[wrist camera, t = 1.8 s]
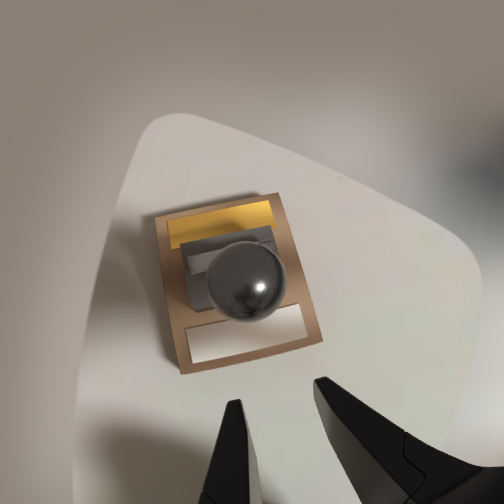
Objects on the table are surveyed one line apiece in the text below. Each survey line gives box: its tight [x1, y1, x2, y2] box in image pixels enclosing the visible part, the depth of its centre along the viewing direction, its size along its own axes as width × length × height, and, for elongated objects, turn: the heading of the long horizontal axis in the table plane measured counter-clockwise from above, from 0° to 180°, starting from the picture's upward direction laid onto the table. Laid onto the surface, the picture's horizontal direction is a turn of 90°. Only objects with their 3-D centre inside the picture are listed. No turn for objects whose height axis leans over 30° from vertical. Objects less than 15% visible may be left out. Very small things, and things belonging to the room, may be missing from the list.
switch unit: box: [155, 193, 323, 374], centre depth 22 cm, size 12×10×5 cm
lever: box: [188, 239, 287, 323], centre depth 15 cm, size 3×5×9 cm, turn 105°
